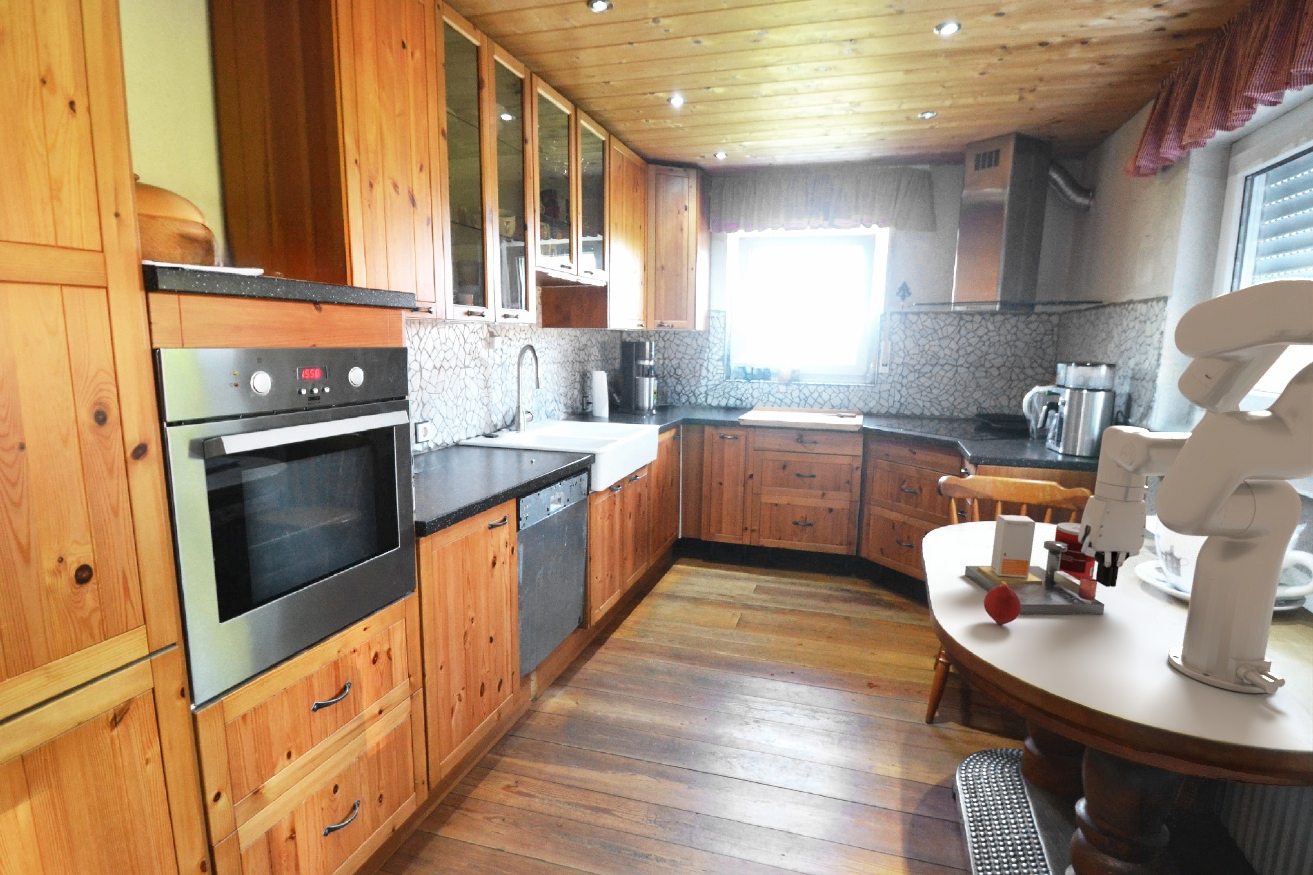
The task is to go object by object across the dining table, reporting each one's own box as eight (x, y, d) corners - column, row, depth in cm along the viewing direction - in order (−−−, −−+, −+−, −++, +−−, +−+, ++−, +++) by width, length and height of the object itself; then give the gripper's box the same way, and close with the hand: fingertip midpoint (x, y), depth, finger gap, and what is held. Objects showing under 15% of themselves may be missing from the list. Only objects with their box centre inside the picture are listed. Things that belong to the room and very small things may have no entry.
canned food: (1080, 571, 145) (1086, 523, 143) (1100, 584, 137) (1107, 534, 135) (1043, 569, 145) (1049, 521, 144) (1062, 582, 138) (1068, 532, 136)
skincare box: (997, 576, 133) (1004, 519, 131) (990, 569, 137) (996, 514, 135) (1029, 578, 132) (1036, 521, 130) (1021, 571, 137) (1027, 515, 135)
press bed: (1103, 614, 122) (1110, 563, 120) (1019, 614, 121) (1025, 563, 120) (1037, 574, 142) (1042, 530, 140) (964, 574, 141) (969, 530, 139)
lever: (1051, 580, 131) (1053, 563, 130) (1063, 580, 131) (1065, 563, 130) (1084, 600, 121) (1086, 582, 120) (1098, 600, 121) (1100, 582, 120)
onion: (1014, 619, 119) (1018, 578, 118) (1022, 633, 114) (1027, 590, 112) (979, 615, 121) (983, 574, 119) (985, 629, 115) (990, 585, 114)
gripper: (1141, 487, 127) (1128, 576, 130) (1067, 486, 127) (1055, 576, 130) (1173, 497, 120) (1158, 592, 123) (1094, 497, 119) (1081, 592, 122)
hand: (1105, 583), depth 126 cm, fingers closed
